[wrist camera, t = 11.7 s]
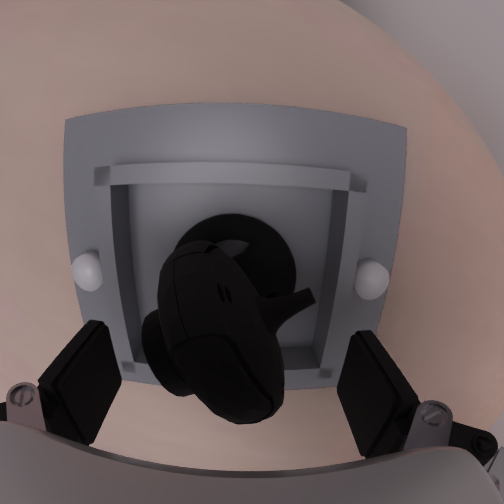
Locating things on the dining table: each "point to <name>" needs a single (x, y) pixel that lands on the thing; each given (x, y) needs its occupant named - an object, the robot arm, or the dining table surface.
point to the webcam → (225, 318)
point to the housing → (235, 202)
